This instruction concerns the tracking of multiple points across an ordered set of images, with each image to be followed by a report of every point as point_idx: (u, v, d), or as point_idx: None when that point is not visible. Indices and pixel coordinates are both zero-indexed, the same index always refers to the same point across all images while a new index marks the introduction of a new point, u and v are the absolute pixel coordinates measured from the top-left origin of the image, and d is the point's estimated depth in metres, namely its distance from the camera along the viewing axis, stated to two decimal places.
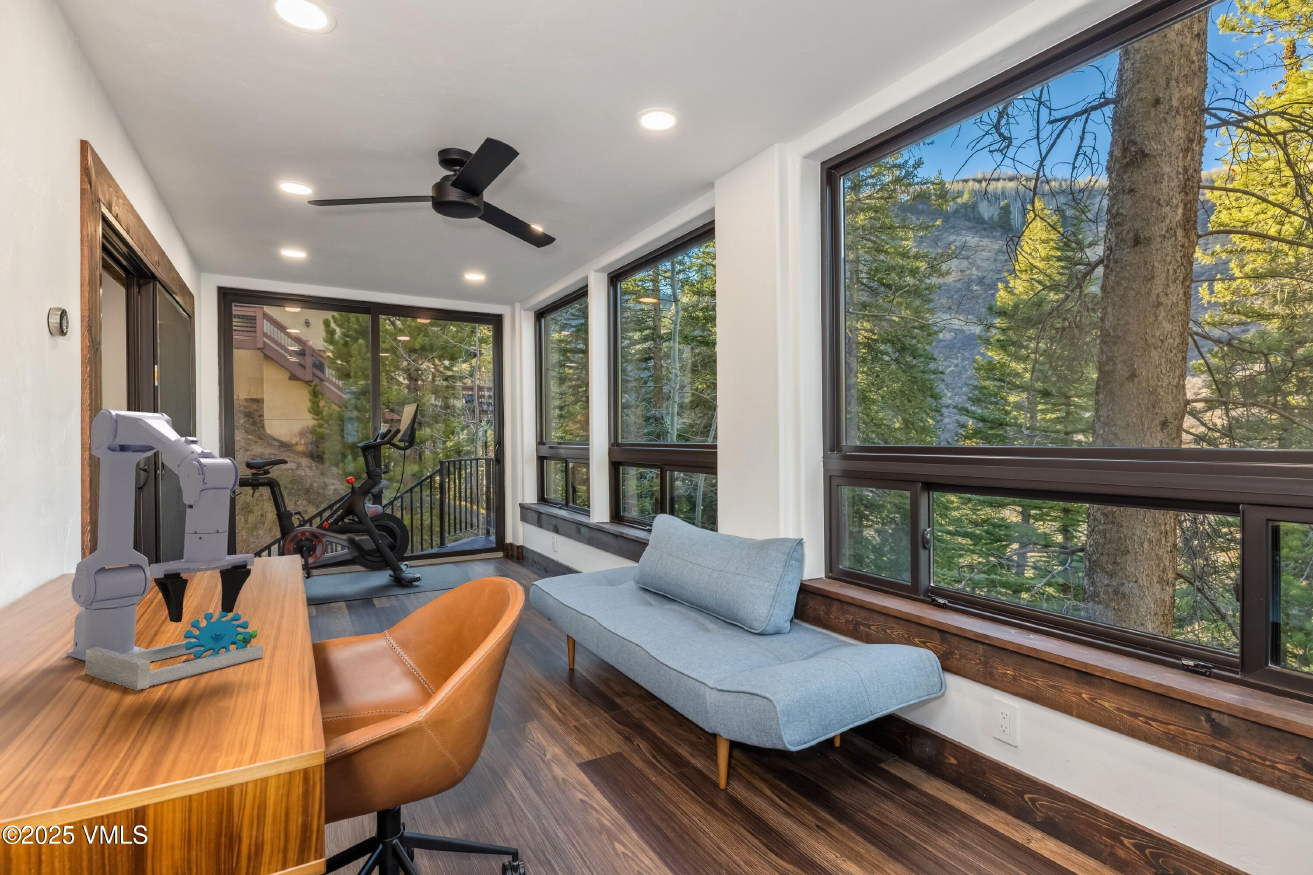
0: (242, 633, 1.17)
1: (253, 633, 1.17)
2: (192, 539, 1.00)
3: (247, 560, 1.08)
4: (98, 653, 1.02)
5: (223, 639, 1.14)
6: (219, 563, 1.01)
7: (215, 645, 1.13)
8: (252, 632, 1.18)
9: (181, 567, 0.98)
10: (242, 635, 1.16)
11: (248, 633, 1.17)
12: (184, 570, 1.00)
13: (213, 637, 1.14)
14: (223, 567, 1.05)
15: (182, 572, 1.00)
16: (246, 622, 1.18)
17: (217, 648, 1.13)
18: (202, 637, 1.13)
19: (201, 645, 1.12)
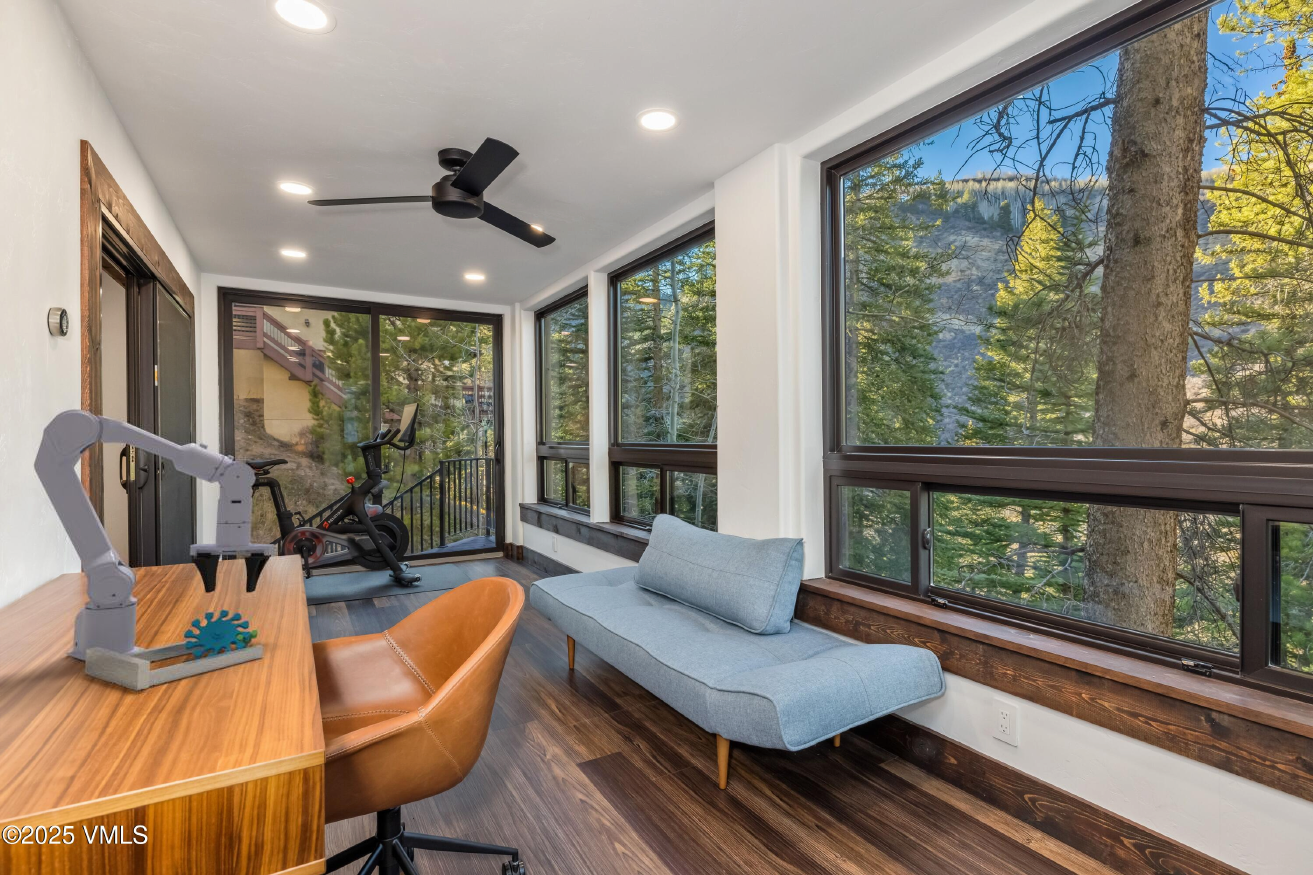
0: (242, 633, 1.17)
1: (253, 633, 1.17)
2: (216, 527, 1.24)
3: (262, 549, 1.25)
4: (98, 653, 1.02)
5: (223, 639, 1.15)
6: (222, 548, 1.22)
7: (215, 645, 1.13)
8: (252, 632, 1.18)
9: (204, 549, 1.23)
10: (242, 635, 1.16)
11: (248, 633, 1.17)
12: (215, 551, 1.25)
13: (213, 637, 1.14)
14: (246, 553, 1.26)
15: (213, 553, 1.25)
16: (246, 622, 1.18)
17: (217, 648, 1.13)
18: (202, 637, 1.13)
19: (201, 645, 1.13)
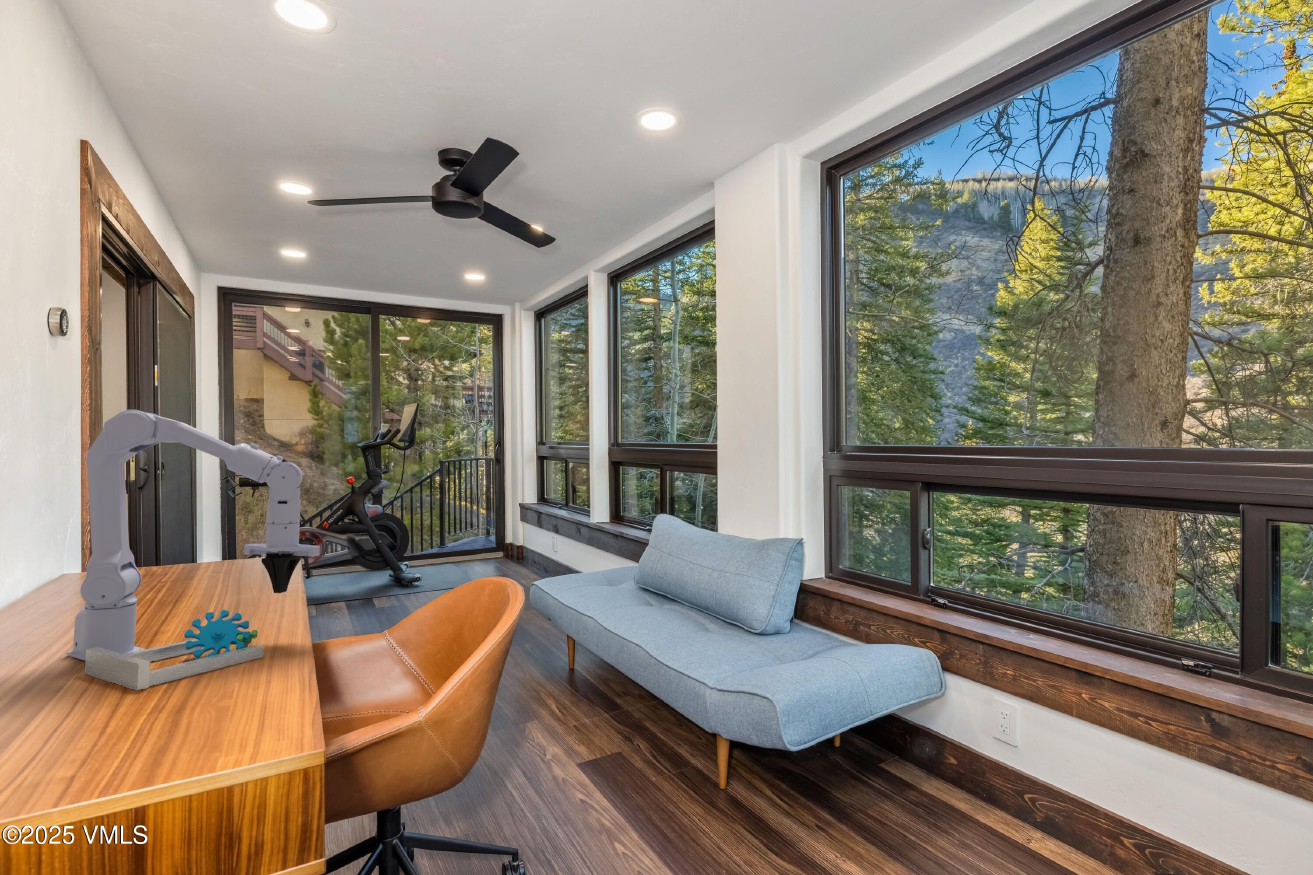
0: (242, 633, 1.17)
1: (253, 633, 1.18)
2: None
3: (307, 550, 1.24)
4: (98, 653, 1.02)
5: (223, 639, 1.15)
6: (268, 549, 1.22)
7: (215, 645, 1.13)
8: (252, 632, 1.18)
9: (255, 548, 1.25)
10: (242, 635, 1.16)
11: (248, 633, 1.17)
12: (266, 551, 1.26)
13: (213, 637, 1.14)
14: (293, 554, 1.25)
15: (264, 553, 1.26)
16: (247, 622, 1.18)
17: (217, 648, 1.13)
18: (202, 637, 1.13)
19: (201, 644, 1.13)
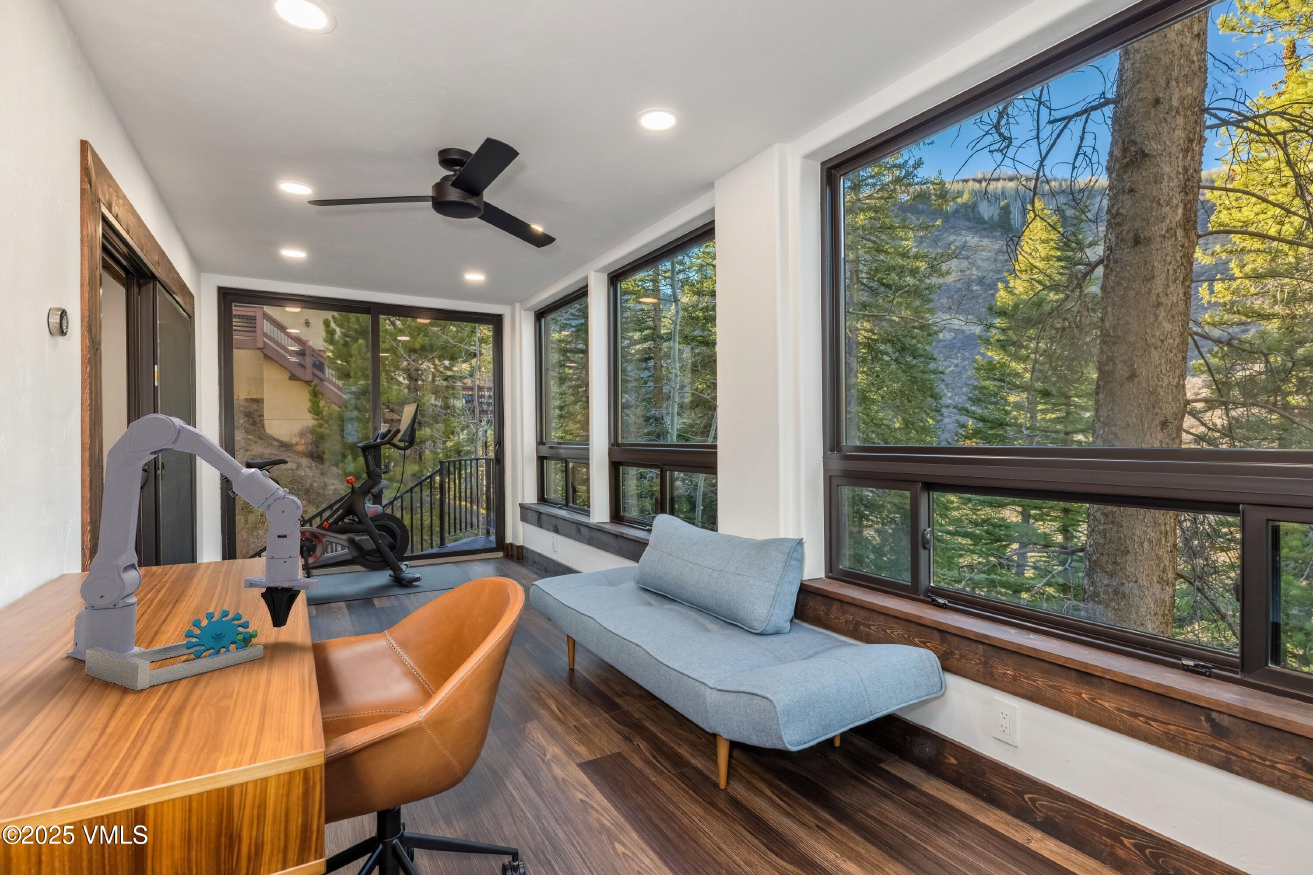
0: (242, 633, 1.17)
1: (253, 633, 1.18)
2: None
3: (306, 585, 1.24)
4: (98, 653, 1.02)
5: (223, 639, 1.15)
6: (267, 584, 1.21)
7: (215, 645, 1.13)
8: (252, 632, 1.18)
9: (255, 582, 1.24)
10: (242, 635, 1.17)
11: (248, 633, 1.17)
12: (265, 585, 1.25)
13: (213, 637, 1.14)
14: (292, 588, 1.25)
15: (264, 587, 1.25)
16: (247, 622, 1.19)
17: (217, 648, 1.13)
18: (202, 636, 1.13)
19: (201, 644, 1.13)
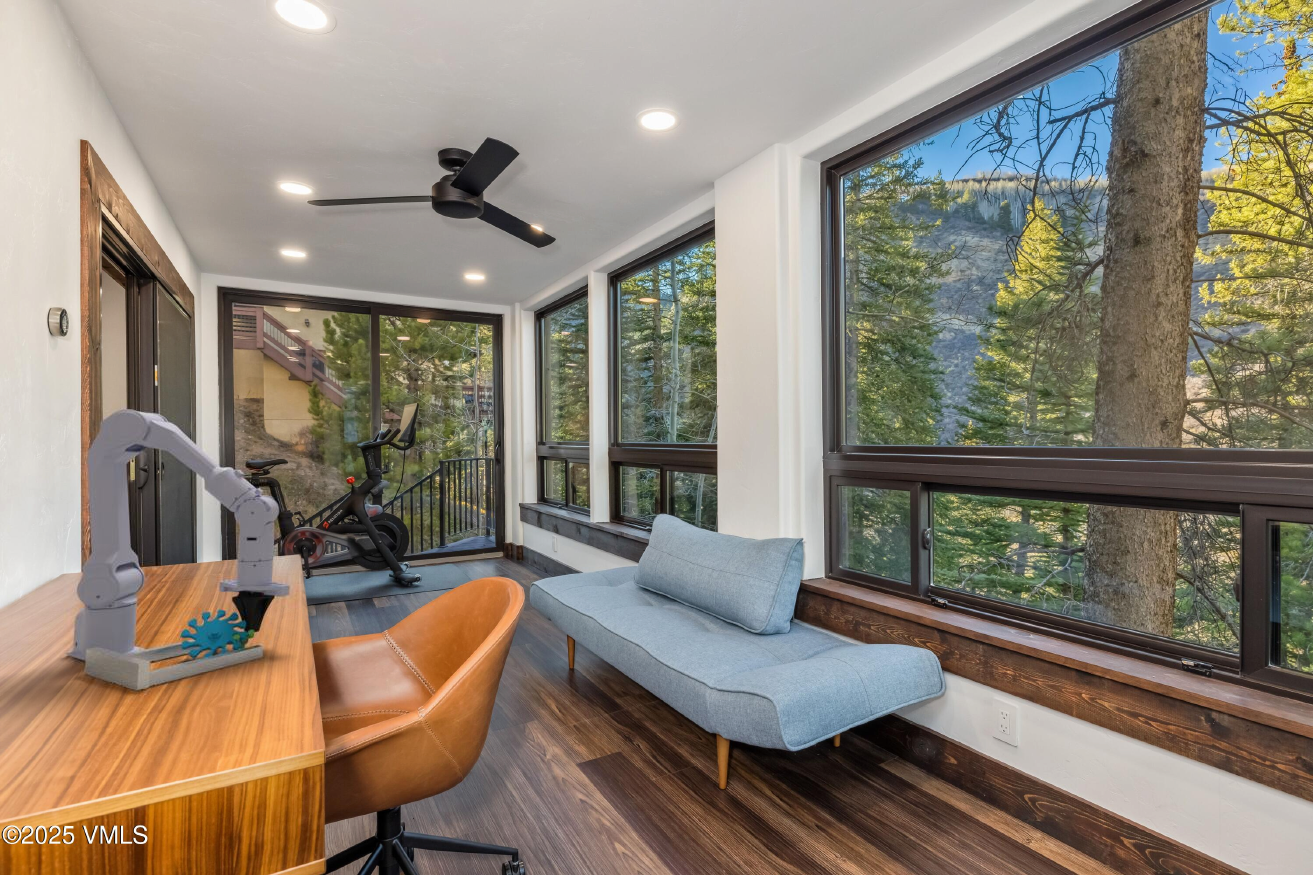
0: (239, 633, 1.16)
1: (250, 633, 1.17)
2: None
3: (275, 590, 1.18)
4: (98, 653, 1.02)
5: (220, 639, 1.14)
6: (235, 588, 1.17)
7: (211, 645, 1.13)
8: (249, 632, 1.17)
9: (228, 586, 1.20)
10: (239, 635, 1.16)
11: (245, 633, 1.17)
12: None
13: (210, 637, 1.14)
14: (263, 593, 1.20)
15: (238, 590, 1.21)
16: (243, 622, 1.18)
17: (213, 648, 1.13)
18: (199, 637, 1.13)
19: (198, 644, 1.12)
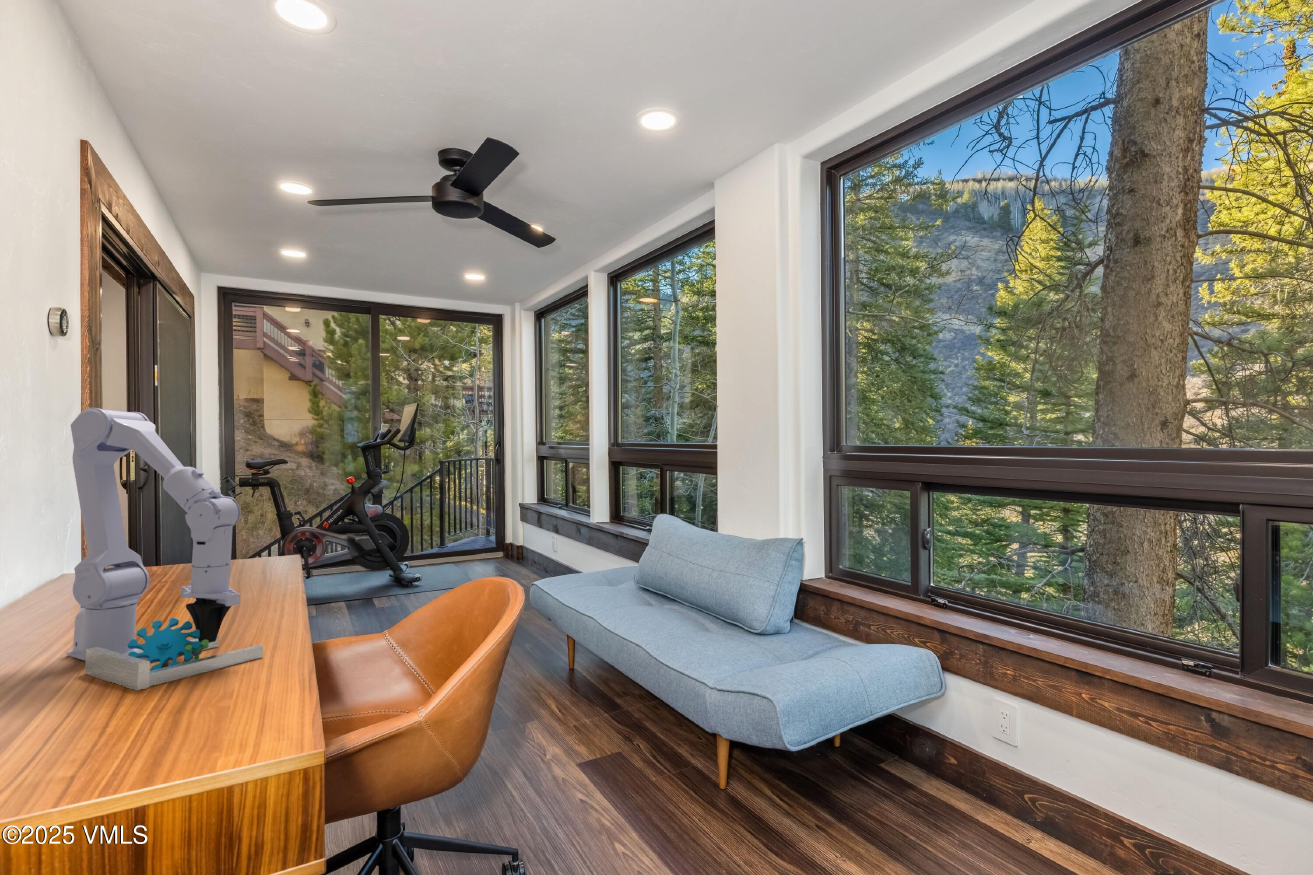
0: (191, 643, 1.09)
1: (204, 643, 1.10)
2: None
3: (223, 598, 1.10)
4: (98, 653, 1.02)
5: (170, 649, 1.07)
6: (185, 595, 1.10)
7: (161, 656, 1.06)
8: (203, 642, 1.10)
9: (185, 592, 1.14)
10: (191, 645, 1.09)
11: (198, 643, 1.10)
12: None
13: (159, 647, 1.07)
14: (216, 601, 1.12)
15: None
16: (197, 631, 1.11)
17: (163, 660, 1.06)
18: (147, 647, 1.06)
19: (146, 656, 1.05)
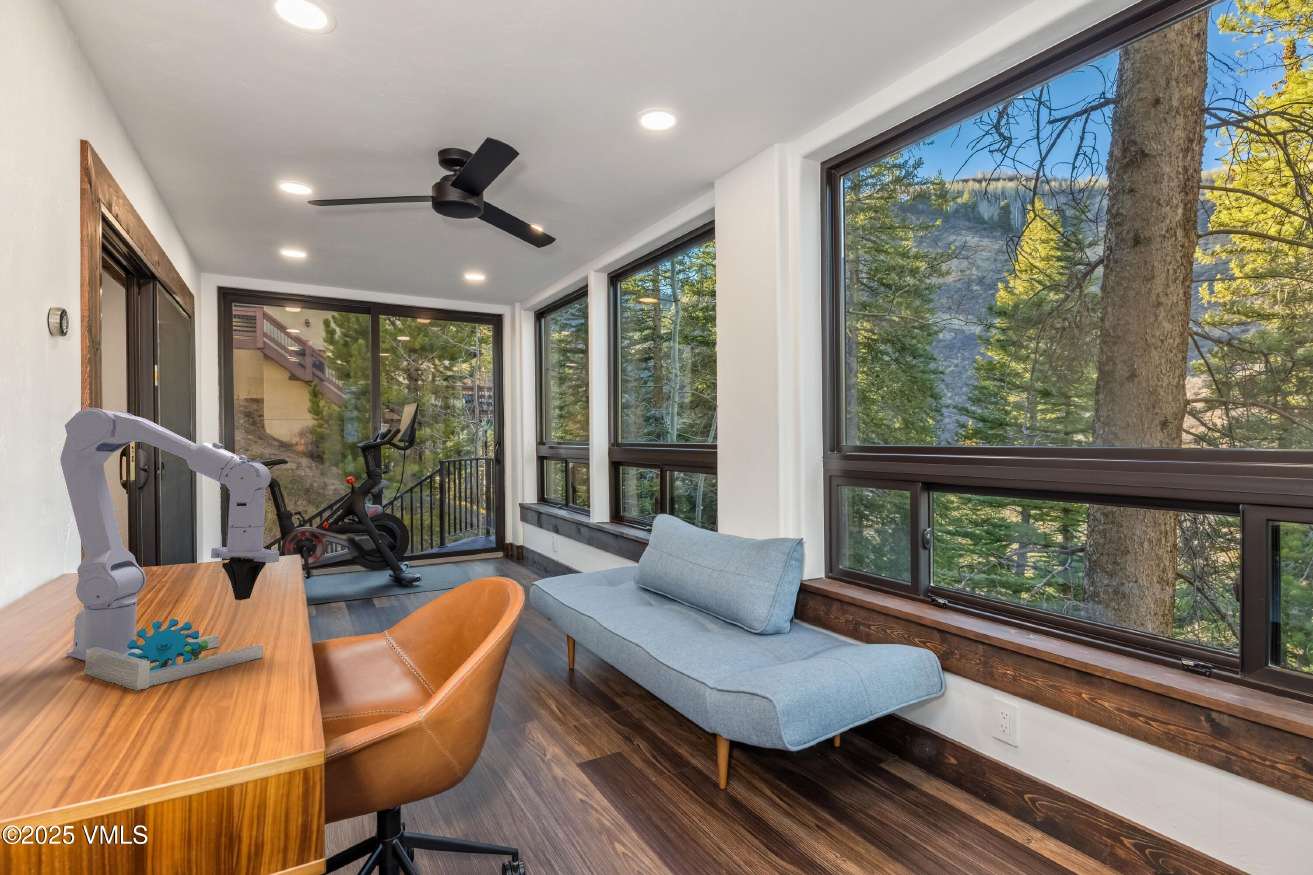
0: (191, 644, 1.09)
1: (203, 644, 1.10)
2: None
3: (264, 556, 1.17)
4: (98, 653, 1.02)
5: (169, 650, 1.07)
6: (225, 553, 1.16)
7: (160, 657, 1.06)
8: (202, 643, 1.10)
9: (219, 552, 1.19)
10: (191, 646, 1.09)
11: (197, 644, 1.10)
12: (231, 556, 1.20)
13: (159, 648, 1.07)
14: (253, 559, 1.18)
15: (229, 557, 1.20)
16: (197, 632, 1.11)
17: (162, 660, 1.06)
18: (147, 648, 1.06)
19: (145, 656, 1.05)
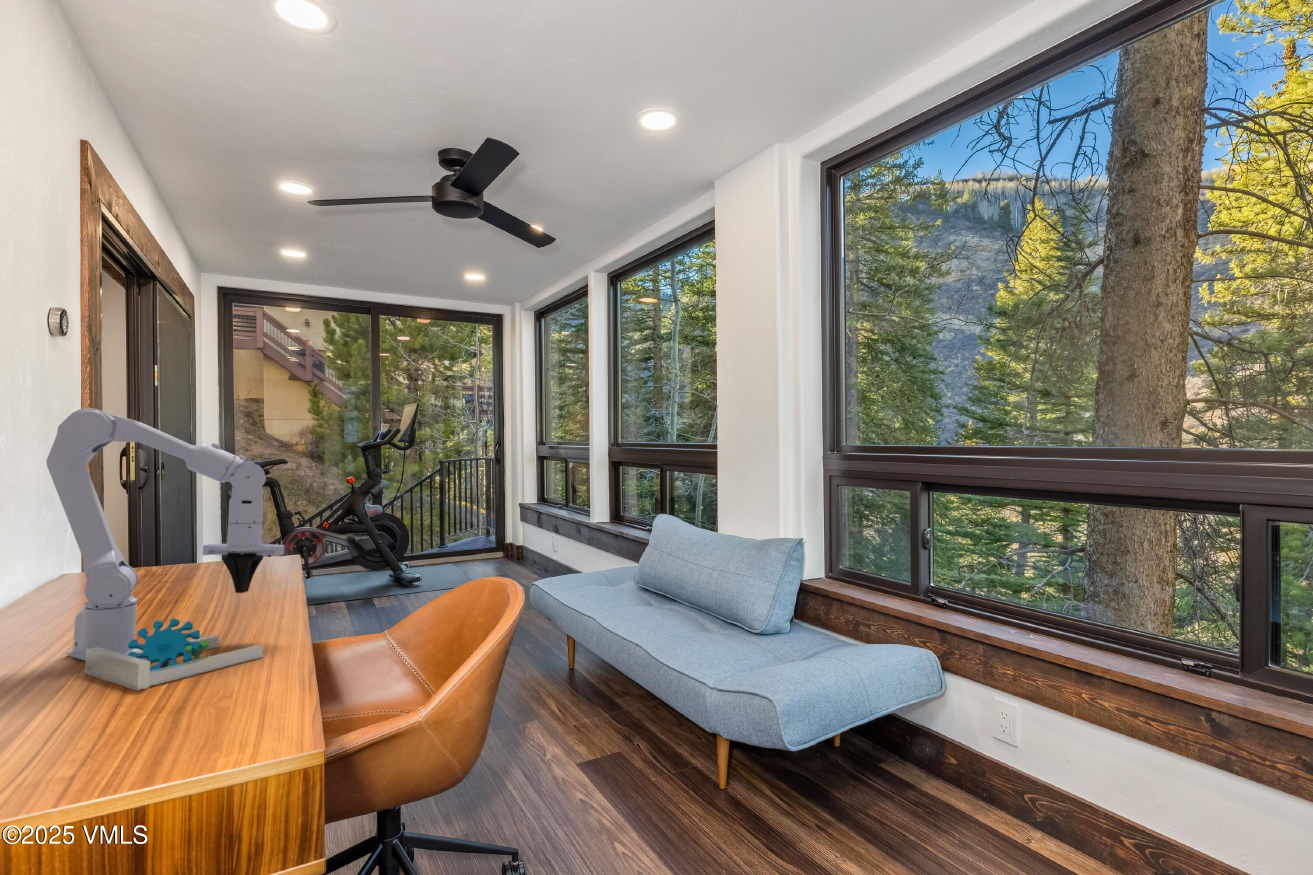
0: (191, 644, 1.09)
1: (203, 644, 1.10)
2: None
3: (272, 549, 1.25)
4: (98, 653, 1.02)
5: (170, 650, 1.07)
6: (232, 549, 1.22)
7: (160, 656, 1.06)
8: (202, 643, 1.10)
9: (216, 549, 1.24)
10: (191, 646, 1.09)
11: (198, 644, 1.10)
12: (226, 551, 1.25)
13: (159, 648, 1.07)
14: (256, 553, 1.26)
15: (225, 553, 1.25)
16: (197, 632, 1.11)
17: (162, 660, 1.06)
18: (147, 647, 1.06)
19: (145, 656, 1.06)
